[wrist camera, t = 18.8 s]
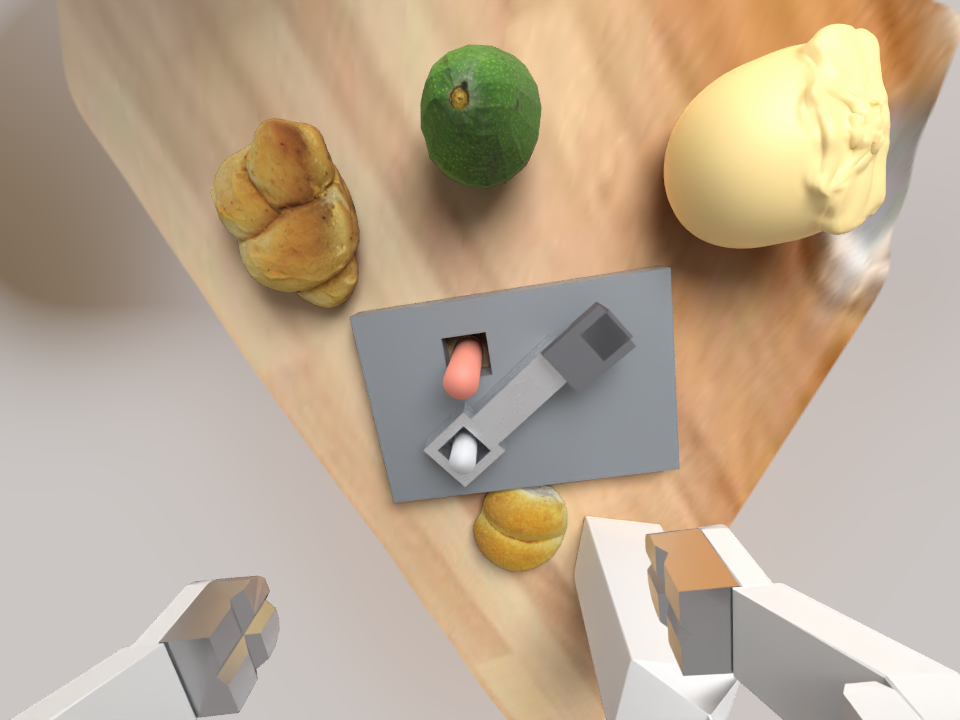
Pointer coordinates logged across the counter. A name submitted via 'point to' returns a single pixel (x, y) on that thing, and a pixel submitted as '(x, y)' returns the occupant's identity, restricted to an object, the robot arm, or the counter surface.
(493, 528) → the bread roll
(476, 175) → the avocado
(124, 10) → the counter surface
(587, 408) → the board
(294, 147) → the bread roll
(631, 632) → the milk carton
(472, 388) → the peg
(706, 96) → the sculpture
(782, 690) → the robot arm
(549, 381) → the link
